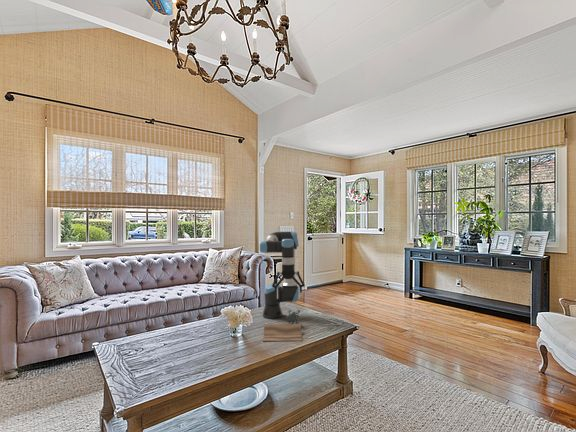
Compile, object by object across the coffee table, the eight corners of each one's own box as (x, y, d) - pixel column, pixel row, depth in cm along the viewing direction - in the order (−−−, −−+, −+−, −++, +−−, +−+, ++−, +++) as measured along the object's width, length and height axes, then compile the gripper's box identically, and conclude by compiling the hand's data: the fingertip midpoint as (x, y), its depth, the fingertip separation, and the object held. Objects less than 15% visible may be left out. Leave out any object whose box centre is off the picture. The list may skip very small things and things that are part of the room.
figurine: (302, 329, 211) (301, 311, 211) (286, 329, 211) (286, 311, 211) (301, 323, 222) (301, 306, 222) (286, 323, 222) (286, 307, 222)
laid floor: (263, 337, 198) (263, 335, 198) (301, 336, 198) (301, 334, 198) (262, 342, 189) (262, 340, 189) (302, 342, 190) (302, 339, 190)
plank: (264, 324, 206) (264, 323, 205) (300, 324, 206) (300, 323, 205) (263, 336, 199) (263, 335, 198) (301, 335, 199) (301, 334, 198)
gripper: (267, 265, 189) (268, 300, 189) (308, 264, 189) (309, 299, 189) (268, 263, 196) (268, 296, 196) (307, 262, 197) (308, 296, 197)
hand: (288, 298), depth 193 cm, fingers open, 13 cm apart
